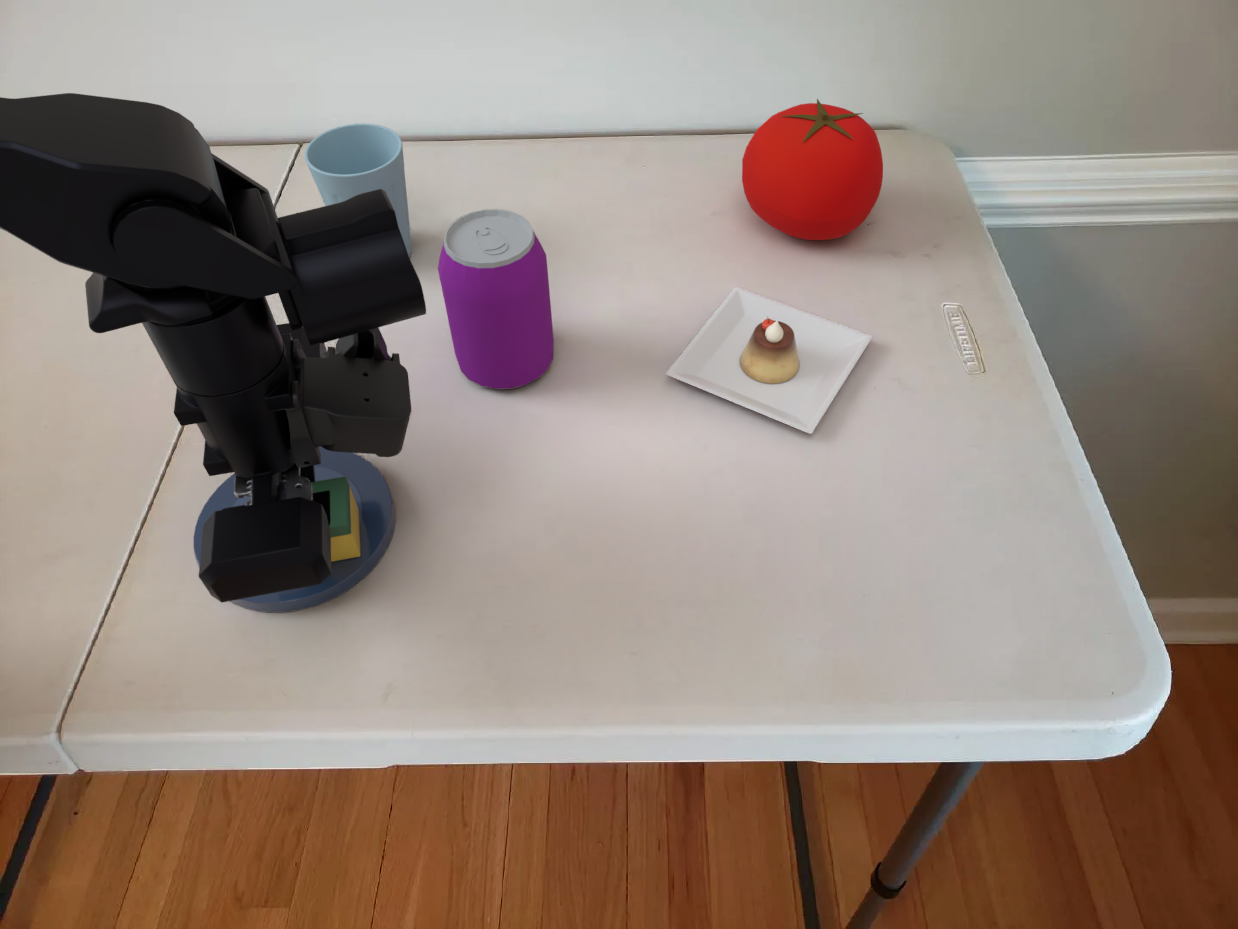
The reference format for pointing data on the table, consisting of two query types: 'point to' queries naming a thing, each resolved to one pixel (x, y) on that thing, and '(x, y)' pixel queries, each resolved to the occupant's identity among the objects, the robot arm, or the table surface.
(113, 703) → the table surface
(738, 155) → the table surface
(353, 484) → the plate
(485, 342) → the beverage can
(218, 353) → the robot arm
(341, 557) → the sponge
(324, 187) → the cup
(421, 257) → the table surface
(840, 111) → the tomato
